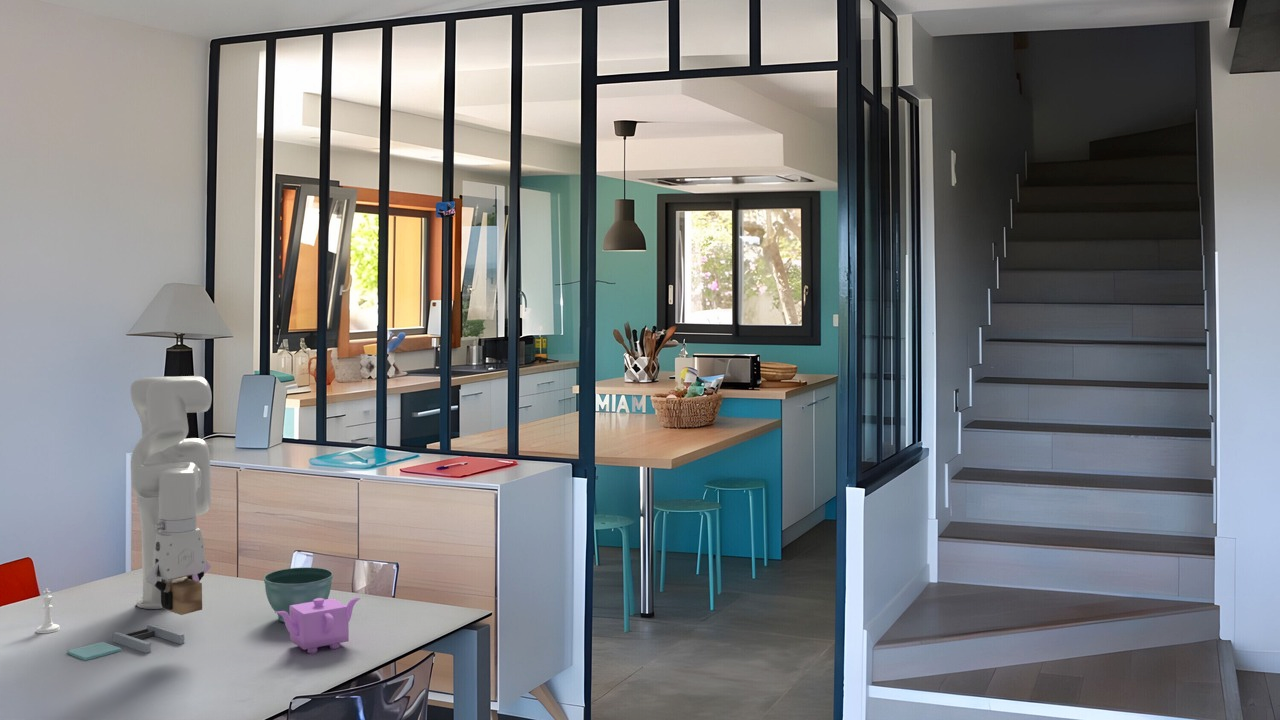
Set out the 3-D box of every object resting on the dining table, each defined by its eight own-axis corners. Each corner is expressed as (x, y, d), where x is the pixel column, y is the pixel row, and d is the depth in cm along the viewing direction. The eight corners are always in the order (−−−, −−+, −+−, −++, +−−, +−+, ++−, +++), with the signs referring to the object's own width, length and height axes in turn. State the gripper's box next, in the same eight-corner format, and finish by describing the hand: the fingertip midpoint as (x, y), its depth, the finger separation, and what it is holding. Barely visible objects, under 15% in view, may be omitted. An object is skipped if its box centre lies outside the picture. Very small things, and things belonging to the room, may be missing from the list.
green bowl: (347, 614, 270) (346, 571, 270) (301, 631, 256) (300, 586, 255) (297, 606, 277) (296, 564, 276) (249, 623, 262) (249, 579, 262)
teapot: (330, 659, 236) (329, 609, 235) (274, 655, 238) (273, 606, 238) (362, 638, 251) (361, 592, 250) (309, 634, 253) (308, 588, 253)
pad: (102, 644, 246) (102, 641, 246) (121, 651, 241) (121, 648, 241) (66, 653, 239) (66, 650, 239) (85, 660, 235) (85, 657, 235)
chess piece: (49, 634, 253) (48, 591, 253) (31, 632, 254) (30, 590, 254) (64, 627, 258) (63, 586, 258) (46, 626, 259) (45, 585, 259)
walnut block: (184, 603, 243) (183, 577, 243) (202, 609, 239) (201, 583, 239) (163, 608, 239) (163, 582, 239) (181, 615, 235) (180, 588, 235)
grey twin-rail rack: (150, 632, 255) (150, 623, 255) (184, 642, 247) (184, 634, 247) (113, 641, 248) (113, 632, 248) (146, 653, 240) (146, 644, 239)
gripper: (150, 534, 229) (152, 618, 231) (222, 520, 243) (223, 599, 245) (131, 529, 234) (133, 611, 235) (203, 515, 248) (204, 593, 249)
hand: (179, 604), depth 240 cm, fingers closed on walnut block, 5 cm apart
